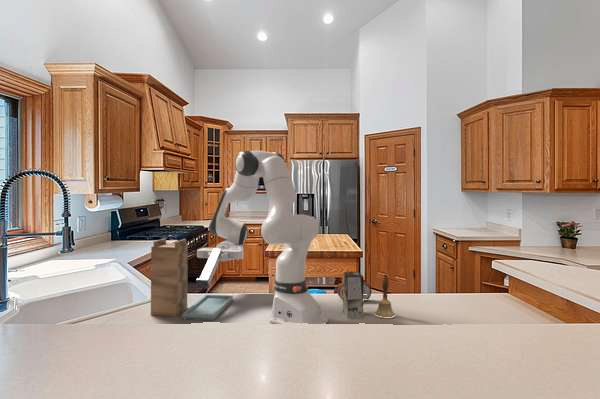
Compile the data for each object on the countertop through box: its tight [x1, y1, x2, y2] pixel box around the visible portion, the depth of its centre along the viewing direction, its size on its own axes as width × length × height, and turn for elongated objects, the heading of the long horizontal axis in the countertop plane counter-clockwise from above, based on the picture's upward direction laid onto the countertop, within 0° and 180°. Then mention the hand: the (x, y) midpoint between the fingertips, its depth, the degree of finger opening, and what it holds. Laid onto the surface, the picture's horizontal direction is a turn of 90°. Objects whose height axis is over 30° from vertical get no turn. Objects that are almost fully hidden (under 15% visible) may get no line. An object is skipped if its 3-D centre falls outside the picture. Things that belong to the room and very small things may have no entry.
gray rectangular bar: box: [195, 247, 223, 289], centre depth 138 cm, size 20×4×4 cm
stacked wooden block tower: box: [150, 238, 189, 317], centre depth 133 cm, size 10×10×28 cm
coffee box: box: [342, 271, 365, 319], centre depth 134 cm, size 9×6×16 cm
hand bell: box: [374, 273, 396, 317], centre depth 134 cm, size 8×8×16 cm
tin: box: [337, 281, 372, 301], centre depth 151 cm, size 15×3×8 cm, turn 93°
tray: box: [181, 294, 233, 321], centre depth 137 cm, size 24×12×2 cm, turn 175°
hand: (215, 256), depth 143 cm, fingers closed on gray rectangular bar, 3 cm apart
